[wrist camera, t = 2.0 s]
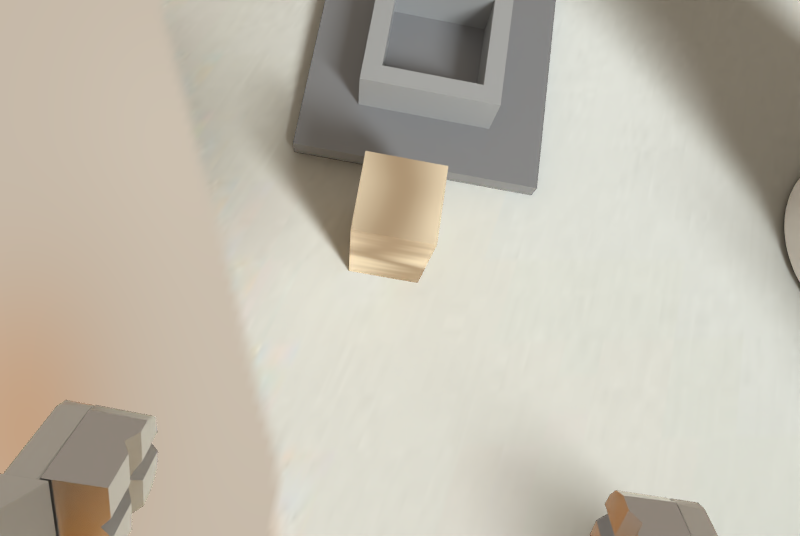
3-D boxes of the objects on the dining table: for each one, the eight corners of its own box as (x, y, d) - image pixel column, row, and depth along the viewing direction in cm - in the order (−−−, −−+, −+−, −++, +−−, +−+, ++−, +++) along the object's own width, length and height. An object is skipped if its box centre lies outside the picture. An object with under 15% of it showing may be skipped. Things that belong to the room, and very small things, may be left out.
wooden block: (427, 218, 39) (448, 166, 31) (417, 282, 38) (436, 244, 30) (360, 206, 39) (365, 150, 31) (348, 270, 38) (350, 229, 30)
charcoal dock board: (551, -3, 44) (572, -46, 40) (531, 195, 40) (552, 168, 36) (338, -45, 44) (338, -94, 40) (294, 151, 39) (288, 119, 35)
